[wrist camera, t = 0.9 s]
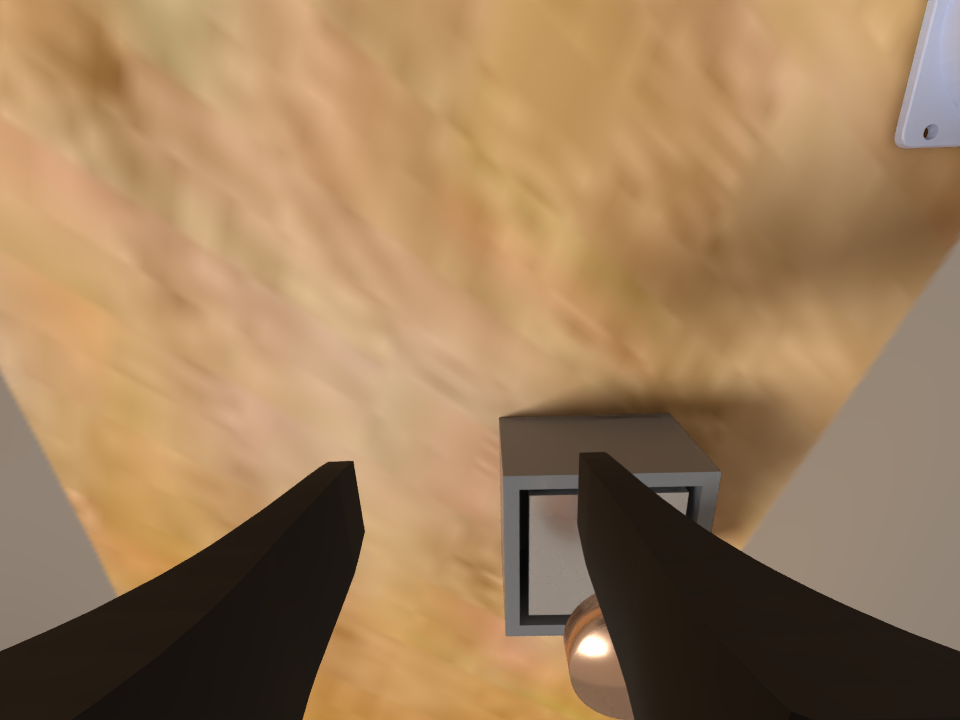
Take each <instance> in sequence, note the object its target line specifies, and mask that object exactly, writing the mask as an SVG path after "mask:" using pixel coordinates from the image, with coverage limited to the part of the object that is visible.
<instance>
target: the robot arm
mask: <svg viewBox="0 0 960 720" xmlns="http://www.w3.org/2000/svg"><path fill="white" fill-rule="evenodd" d="M926 127H927V128H928V135H927V137H926V138H924V137H923V132H924V130H925V128H926ZM895 143H896V145H897V146H898V147H899V148H904V149H911V148H940V147H960V0H928V3H927V7H926V11H925V15H924V19H923V23H922V27H921V31H920V35H919V39H918V43H917V47H916V51H915V55H914V59H913V63H912V67H911V72H910V76H909V80H908V84H907V88H906V92H905V96H904V100H903V104H902V108H901V112H900V116H899V120H898V124H897V128H896V132H895ZM577 527H578V531H579V536H580V541H581V546H582V551H583V555H584V560H585V564H586V567H587V570H588V574H589V577H590V579H591V582H592V585H593V588H594V591H595V594H596V597H597V600H598V603H599V606H600V609H601V612H602V615H603V618H604V621H605V623H606V626H607V629H608V632H609V635H610V638H611V641H612V644H613V647H614V650H615V653H616V655H617V658H618V661H619V664H620V668H621V671H622V674H623V678H624V681H625V684H626V688H627V692H628V696H629V700H630V704H631V708H632V712H633V716H634V720H960V651H957V650H954V649H952V648H949V647H947V646H943V645H941V644H938V643H936V642H933V641H931V640H928V639H925V638H922V637H920V636H917V635H915V634H912V633H909V632H907V631H905V630H902V629H900V628H897V627H895V626H893V625H890V624H888V623H885V622H884V621H881V620H879V619H877V618H874V617H872V616H870V615H867V614H865V613H862V612H860V611H858V610H856V609H853V608H851V607H849V606H846V605H844V604H842V603H840V602H838V601H836V600H834V599H832V598H829V597H827V596H825V595H823V594H821V593H819V592H817V591H815V590H813V589H811V588H809V587H807V586H805V585H803V584H801V583H799V582H797V581H795V580H793V579H791V578H789V577H787V576H785V575H783V574H781V573H779V572H777V571H775V570H773V569H772V568H770V567H768V566H766V565H764V564H762V563H761V562H759V561H757V560H755V559H753V558H752V557H750V556H748V555H746V554H745V553H743V552H742V551H740V550H738V549H737V548H735V547H733V546H732V545H730V544H728V543H727V542H725V541H723V540H722V539H720V538H718V537H717V536H715V535H714V534H712V533H711V532H709V531H708V530H706V529H705V528H703V527H702V526H700V525H699V524H697V523H696V522H694V521H693V520H692V519H690V518H689V517H687V516H686V515H684V514H683V513H682V512H680V511H679V510H677V509H676V508H675V507H673V506H672V505H671V504H669V503H668V502H667V501H665V500H664V499H663V498H661V497H660V496H659V495H658V494H656V493H655V492H654V491H653V490H651V489H650V488H649V487H648V486H646V485H645V484H644V483H643V482H641V481H640V480H639V479H638V478H637V477H635V476H634V475H633V474H632V473H631V472H629V471H628V470H627V469H626V468H625V467H623V466H622V465H621V464H620V463H619V462H617V461H616V460H615V459H614V458H613V457H611V456H610V455H609V454H608V453H606V452H583V453H579V476H578V510H577ZM364 533H365V530H364V524H363V518H362V511H361V505H360V499H359V493H358V487H357V481H356V475H355V468H354V462H353V461H339V462H327V463H326V464H324V465H322V466H321V467H319V468H318V469H317V470H315V471H314V472H312V473H311V474H310V475H308V476H307V477H306V478H304V479H303V480H302V481H300V482H299V483H298V484H296V485H295V486H294V487H292V488H291V489H290V490H288V491H287V492H286V493H284V494H283V495H282V496H280V497H279V498H278V499H276V500H275V501H274V502H272V503H271V504H270V505H268V506H267V507H266V508H264V509H263V510H261V511H260V512H259V513H257V514H256V515H254V516H253V517H251V518H250V519H249V520H247V521H246V522H244V523H243V524H241V525H240V526H238V527H237V528H235V529H234V530H232V531H231V532H230V533H228V534H227V535H225V536H224V537H222V538H221V539H219V540H218V541H216V542H215V543H213V544H212V545H210V546H209V547H207V548H205V549H204V550H202V551H200V552H199V553H197V554H196V555H194V556H192V557H191V558H189V559H187V560H185V561H184V562H182V563H180V564H179V565H177V566H175V567H173V568H172V569H170V570H168V571H167V572H165V573H163V574H161V575H159V576H158V577H156V578H154V579H152V580H150V581H148V582H146V583H144V584H142V585H140V586H139V587H137V588H135V589H133V590H131V591H129V592H127V593H125V594H123V595H121V596H119V597H117V598H115V599H113V600H112V601H109V602H108V603H106V604H104V605H102V606H100V607H98V608H96V609H94V610H92V611H90V612H88V613H86V614H83V615H81V616H79V617H77V618H75V619H72V620H70V621H68V622H66V623H64V624H62V625H59V626H57V627H55V628H53V629H51V630H48V631H46V632H44V633H42V634H39V635H37V636H35V637H32V638H30V639H28V640H26V641H23V642H21V643H19V644H16V645H14V646H12V647H9V648H7V649H5V650H2V651H0V720H302V719H303V716H304V712H305V709H306V705H307V702H308V698H309V695H310V692H311V689H312V686H313V683H314V680H315V677H316V674H317V671H318V669H319V666H320V663H321V661H322V658H323V656H324V653H325V650H326V648H327V645H328V642H329V640H330V637H331V635H332V632H333V629H334V627H335V624H336V622H337V619H338V616H339V614H340V611H341V609H342V606H343V603H344V601H345V598H346V595H347V593H348V590H349V587H350V585H351V582H352V579H353V576H354V574H355V570H356V566H357V562H358V559H359V555H360V550H361V546H362V541H363V537H364Z"/></svg>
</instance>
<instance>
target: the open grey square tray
mask: <svg viewBox="0 0 960 720" xmlns="http://www.w3.org/2000/svg"><path fill="white" fill-rule="evenodd" d="M499 445H500V497H501V548H502V572H503V592H504V613H505V633H506V636H556V635H564V629H565V626H566V623H567V621H568V619H569V617H570V615H571V614H566V615H529V612H528V490H532V489H578V476H579V453H583V452H606V453H608V454H609V455H610V456H611V457H613V458H614V459H615V460H616V461H617V462H619V463H620V464H621V465H622V466H623V467H625V468H626V469H627V470H628V471H629V472H631V473H632V474H633V475H634V476H635V477H637V478H638V479H639V480H640V481H641V482H643V483H644V484H645V485H646V486H648V487H677V486H685V488H686V489H687V490H688V492H689V495H688V502H687V509H686V516H687V517H689V518H690V519H692V520H693V521H694V522H696V523H697V524H699V525H700V526H702V527H703V528H705V529H706V530H708V531H709V532H711V531H712V525H713V519H714V513H715V507H716V501H717V496H718V490H719V484H720V478H721V470H720V469H719V468H718V467H717V466H716V465H715V464H714V463H713V461H712V460H711V459H710V458H709V457H708V456H707V455H706V454H705V452H704V451H703V450H702V449H701V448H700V447H699V446H698V445H697V443H696V442H695V441H694V440H693V439H692V438H691V437H690V436H689V434H688V433H687V432H686V431H685V430H684V429H683V428H682V427H681V426H680V424H679V423H678V422H677V421H676V420H675V419H674V418H673V417H672V415H671V414H670V413H664V414H623V415H582V416H541V417H500V418H499Z"/></svg>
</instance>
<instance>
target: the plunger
mask: <svg viewBox="0 0 960 720" xmlns="http://www.w3.org/2000/svg"><path fill="white" fill-rule="evenodd" d="M649 488H650V489H651V490H653V491H654V492H655V493H656V494H658V495H659V496H660V497H661V498H663V499H664V500H665V501H667V502H668V503H669V504H671V505H672V506H673V507H675V508H676V509H677V510H679V511H680V512H682V513H683V514H684V515H686V509H687V502H688V495H689V492H688V490H687V489H686V488H685V486H677V487H649ZM577 510H578V489H532V490H528V612H529V615H566V614H571V615H570V617H569V619H568V621H567V623H566V626H565V629H564V646H565V651H566V657H567V662H568V668H569V673H570V679H571V683H572V686H573V689H574V691H575V693H576V694H577V696H578V697H579V698H580V699H581V701H582V702H583V703H584V704H586V705H587V706H588V707H590V708H591V709H593V710H594V711H596V712H598V713H601V714H603V715H606V716H609V717H612V718H617V719H623V720H634V716H633V712H632V708H631V704H630V700H629V696H628V692H627V688H626V684H625V681H624V678H623V674H622V671H621V668H620V664H619V661H618V658H617V655H616V653H615V650H614V647H613V644H612V641H611V638H610V635H609V632H608V629H607V626H606V623H605V621H604V618H603V615H602V612H601V609H600V606H599V603H598V600H597V597H596V594H595V591H594V588H593V585H592V582H591V579H590V577H589V574H588V570H587V567H586V564H585V560H584V555H583V551H582V546H581V541H580V536H579V531H578V527H577Z"/></svg>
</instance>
